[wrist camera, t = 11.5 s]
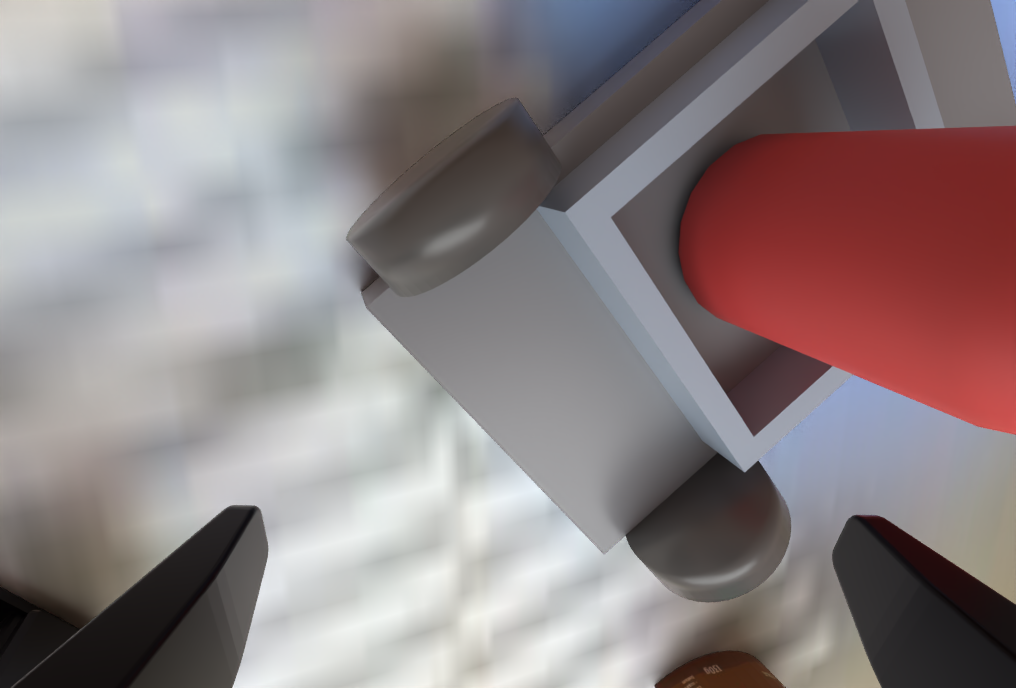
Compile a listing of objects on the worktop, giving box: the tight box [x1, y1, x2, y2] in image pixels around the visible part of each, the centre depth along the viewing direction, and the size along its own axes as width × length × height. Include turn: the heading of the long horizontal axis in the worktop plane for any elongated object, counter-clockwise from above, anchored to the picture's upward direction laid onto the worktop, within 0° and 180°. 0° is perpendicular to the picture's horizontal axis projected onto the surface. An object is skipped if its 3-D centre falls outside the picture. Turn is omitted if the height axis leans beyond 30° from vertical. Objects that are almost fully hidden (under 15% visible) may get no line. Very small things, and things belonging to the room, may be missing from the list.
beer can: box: [678, 126, 1016, 435], centre depth 16 cm, size 7×7×12 cm
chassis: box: [346, 0, 1016, 602], centre depth 20 cm, size 24×18×6 cm
